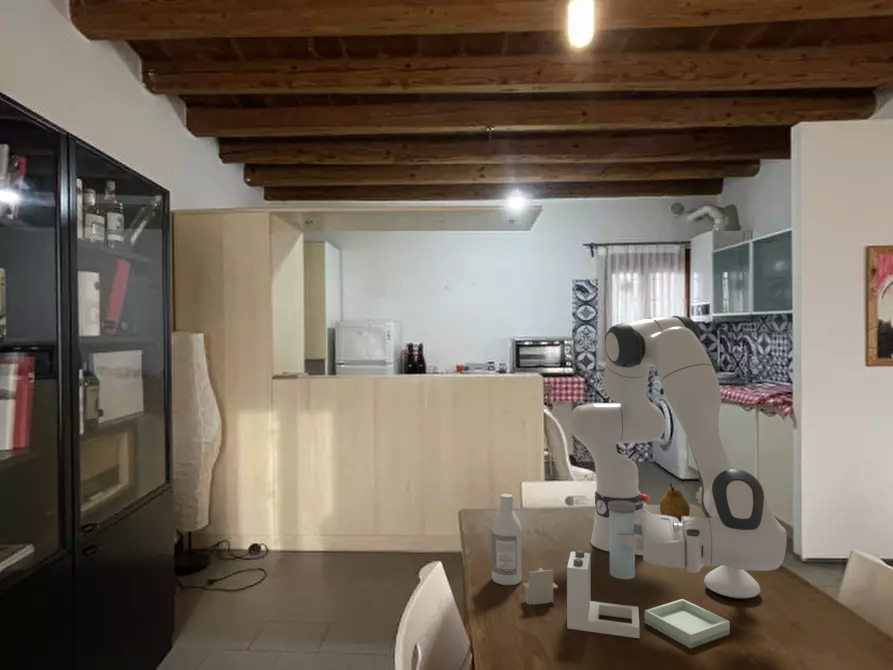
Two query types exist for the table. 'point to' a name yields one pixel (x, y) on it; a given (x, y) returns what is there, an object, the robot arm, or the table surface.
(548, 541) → the table surface
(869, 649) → the table surface
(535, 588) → the architectural model
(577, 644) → the table surface
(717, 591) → the flower in vase
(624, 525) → the cylinder
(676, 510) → the fruit
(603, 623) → the base
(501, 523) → the bath foam
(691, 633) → the tray
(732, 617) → the table surface
